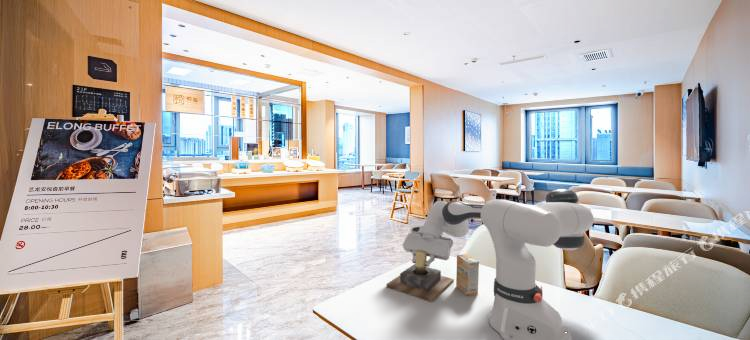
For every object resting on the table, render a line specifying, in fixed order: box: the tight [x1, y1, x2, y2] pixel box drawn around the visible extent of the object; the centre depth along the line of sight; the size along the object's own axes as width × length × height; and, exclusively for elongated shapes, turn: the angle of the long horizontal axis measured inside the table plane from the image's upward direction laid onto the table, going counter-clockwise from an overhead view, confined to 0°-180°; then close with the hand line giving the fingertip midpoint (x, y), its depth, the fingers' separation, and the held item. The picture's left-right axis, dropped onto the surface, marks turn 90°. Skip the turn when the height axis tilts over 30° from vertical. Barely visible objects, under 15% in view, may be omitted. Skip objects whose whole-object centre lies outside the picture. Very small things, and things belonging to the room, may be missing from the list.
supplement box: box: [455, 253, 480, 296], centre depth 118 cm, size 8×5×13 cm, turn 17°
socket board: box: [385, 263, 454, 303], centre depth 124 cm, size 20×20×5 cm
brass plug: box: [415, 250, 428, 275], centre depth 123 cm, size 4×4×11 cm
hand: (420, 264), depth 123 cm, fingers closed on brass plug, 4 cm apart
